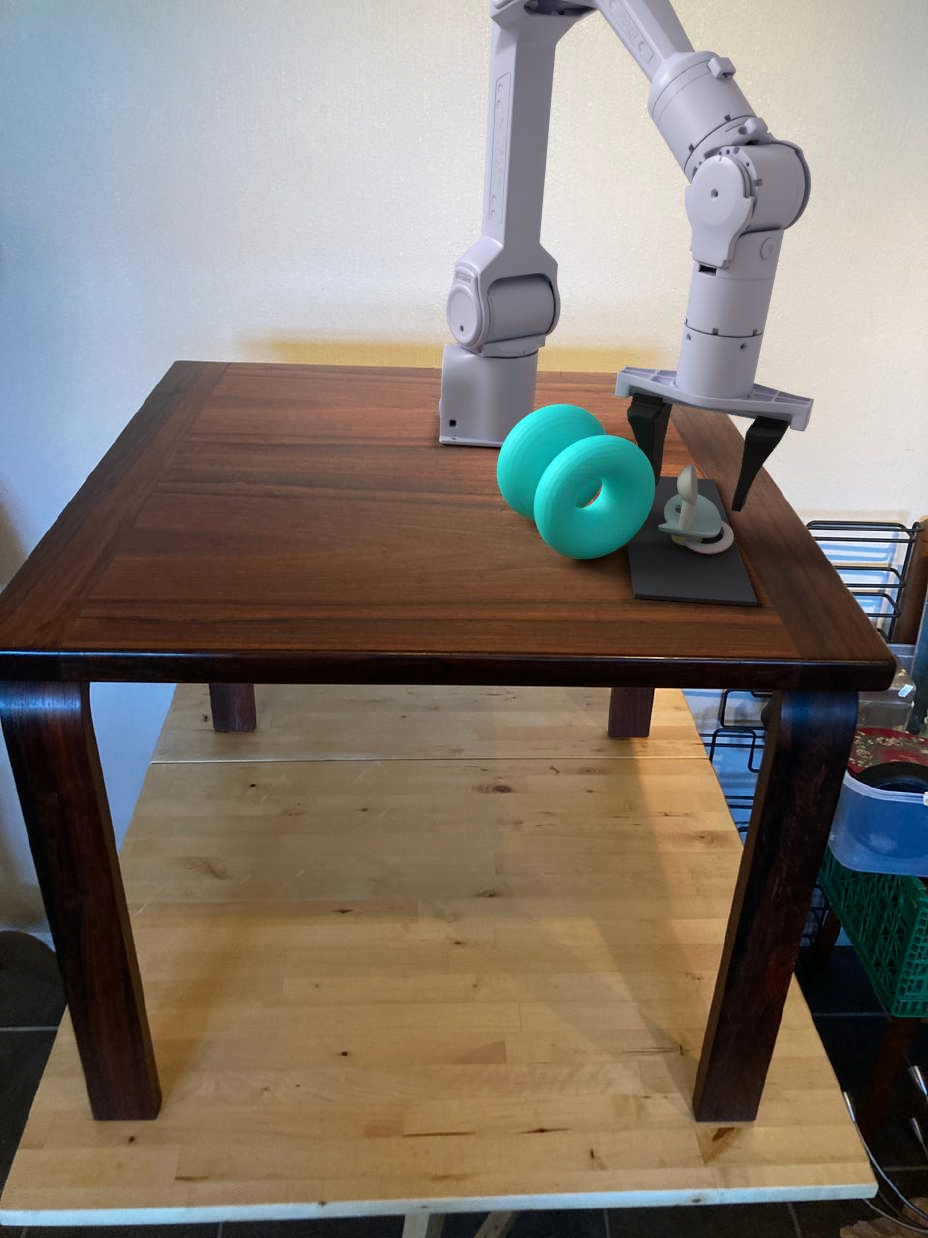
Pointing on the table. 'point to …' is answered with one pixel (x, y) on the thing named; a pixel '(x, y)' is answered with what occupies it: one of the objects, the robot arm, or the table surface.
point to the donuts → (575, 481)
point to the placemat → (685, 558)
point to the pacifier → (694, 517)
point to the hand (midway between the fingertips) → (693, 496)
